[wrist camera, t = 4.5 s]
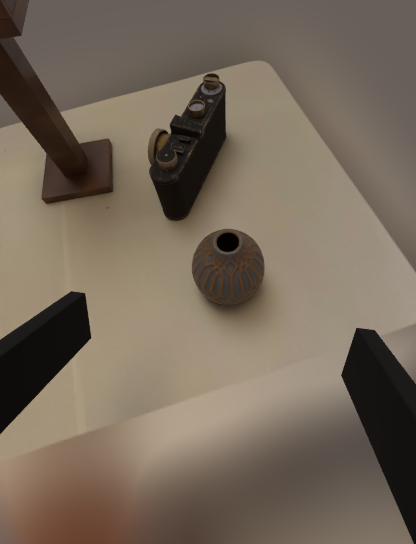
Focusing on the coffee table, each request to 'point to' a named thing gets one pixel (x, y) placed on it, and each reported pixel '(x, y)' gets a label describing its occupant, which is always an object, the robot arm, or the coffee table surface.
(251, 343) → the coffee table surface
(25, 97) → the square pedestal box
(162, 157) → the camera
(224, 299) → the vase
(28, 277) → the coffee table surface
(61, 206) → the coffee table surface
